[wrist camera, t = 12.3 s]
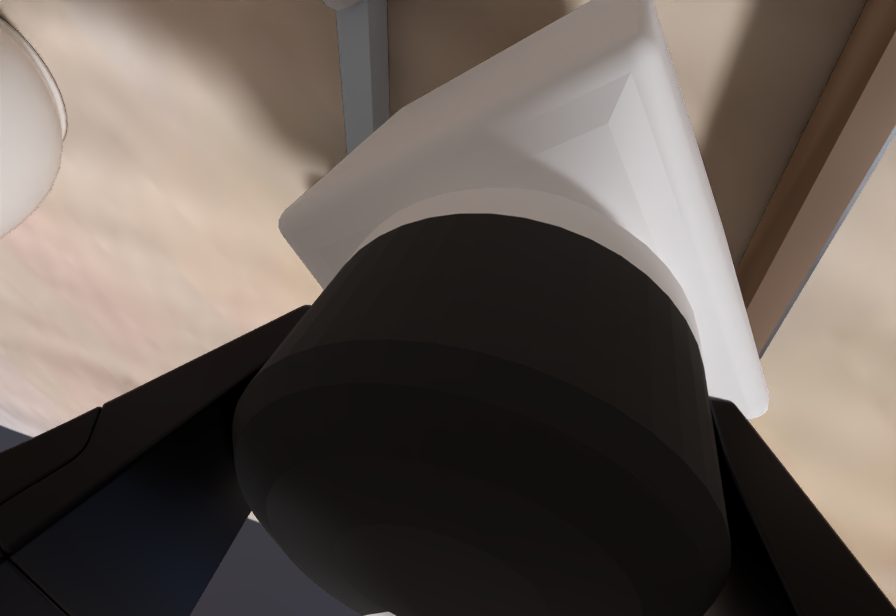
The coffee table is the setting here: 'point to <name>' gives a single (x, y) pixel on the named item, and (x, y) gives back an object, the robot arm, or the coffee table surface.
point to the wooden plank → (823, 169)
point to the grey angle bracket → (362, 66)
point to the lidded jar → (26, 129)
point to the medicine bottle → (511, 347)
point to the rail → (831, 237)
